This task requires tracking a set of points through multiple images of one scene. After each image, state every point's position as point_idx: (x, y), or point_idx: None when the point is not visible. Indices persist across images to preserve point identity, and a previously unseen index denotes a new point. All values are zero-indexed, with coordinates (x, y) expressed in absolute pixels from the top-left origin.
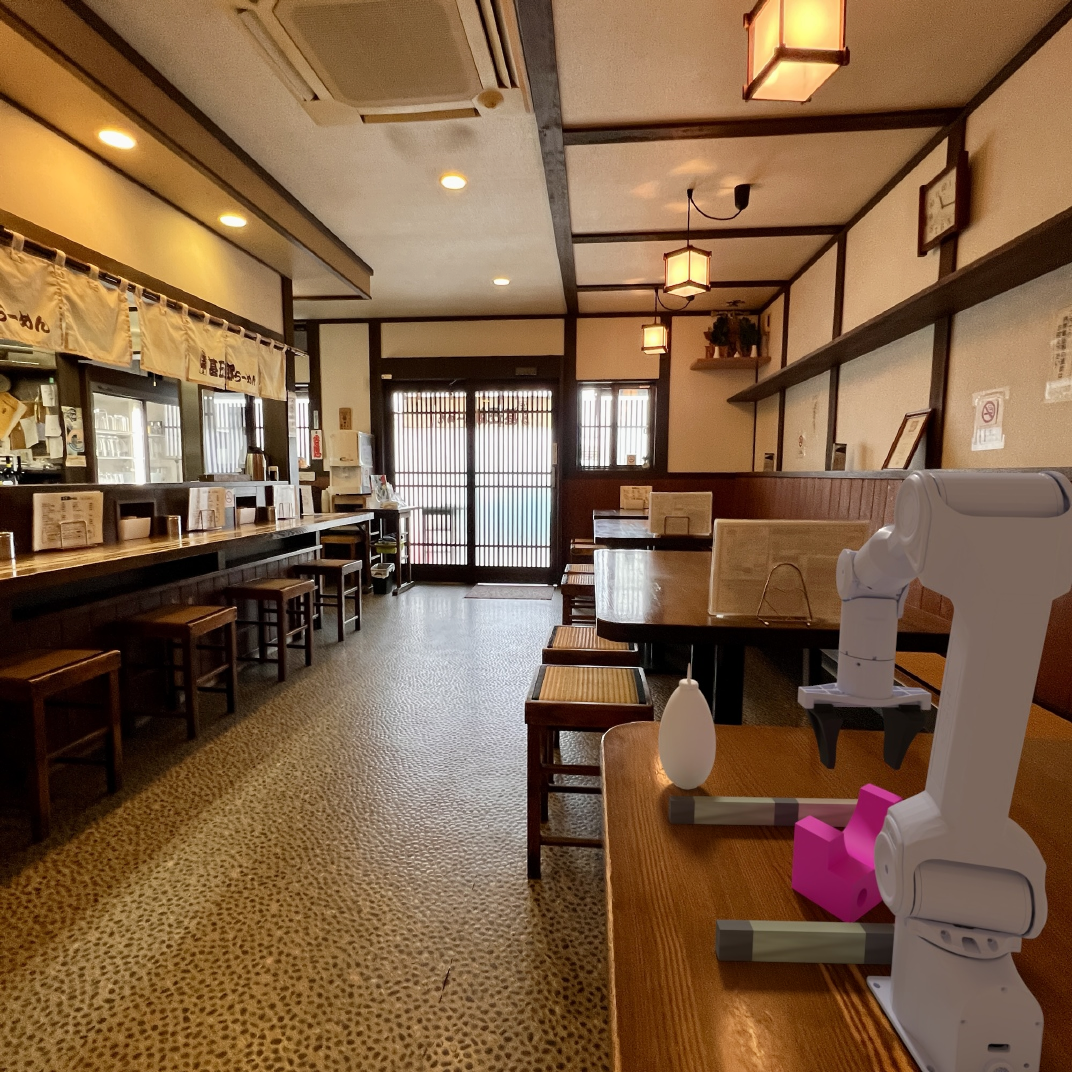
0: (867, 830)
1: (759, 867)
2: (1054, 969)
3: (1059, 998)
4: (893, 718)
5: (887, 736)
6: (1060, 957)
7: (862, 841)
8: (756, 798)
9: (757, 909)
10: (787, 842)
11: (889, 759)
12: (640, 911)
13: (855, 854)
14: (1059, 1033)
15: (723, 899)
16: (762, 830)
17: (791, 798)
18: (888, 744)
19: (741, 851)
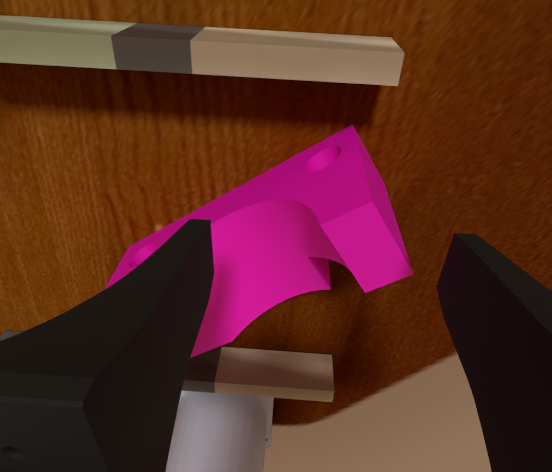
0: (302, 231)
1: (80, 199)
2: (409, 371)
3: (373, 393)
4: (543, 452)
5: (503, 316)
6: (437, 361)
7: (281, 236)
8: (60, 41)
9: (64, 281)
10: (157, 125)
11: (453, 277)
12: None
13: (246, 260)
14: (333, 413)
15: (13, 263)
16: (106, 74)
17: (177, 42)
18: (482, 302)
19: (47, 152)
